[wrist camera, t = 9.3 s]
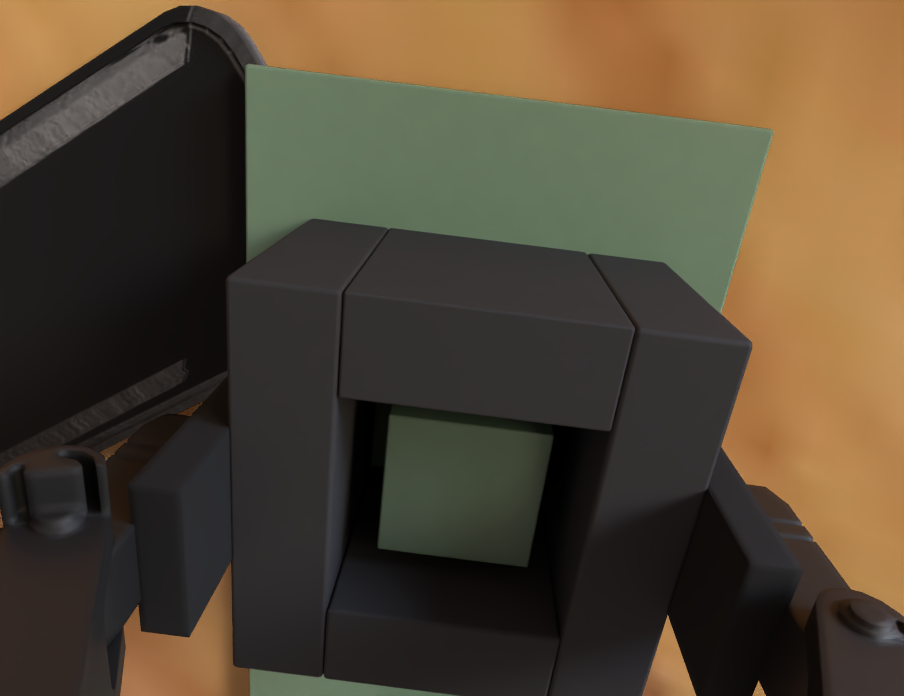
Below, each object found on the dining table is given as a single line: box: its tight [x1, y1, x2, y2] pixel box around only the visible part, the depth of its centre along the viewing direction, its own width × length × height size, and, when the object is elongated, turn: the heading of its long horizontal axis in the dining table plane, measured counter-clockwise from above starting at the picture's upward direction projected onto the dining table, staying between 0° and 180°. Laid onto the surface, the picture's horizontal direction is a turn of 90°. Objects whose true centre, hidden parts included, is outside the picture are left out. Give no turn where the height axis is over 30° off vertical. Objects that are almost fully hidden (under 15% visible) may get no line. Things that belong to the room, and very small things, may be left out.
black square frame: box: [226, 218, 752, 696], centre depth 13 cm, size 8×8×5 cm
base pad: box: [245, 64, 773, 696], centre depth 16 cm, size 26×11×5 cm, turn 173°
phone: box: [0, 6, 267, 468], centre depth 16 cm, size 8×1×15 cm
